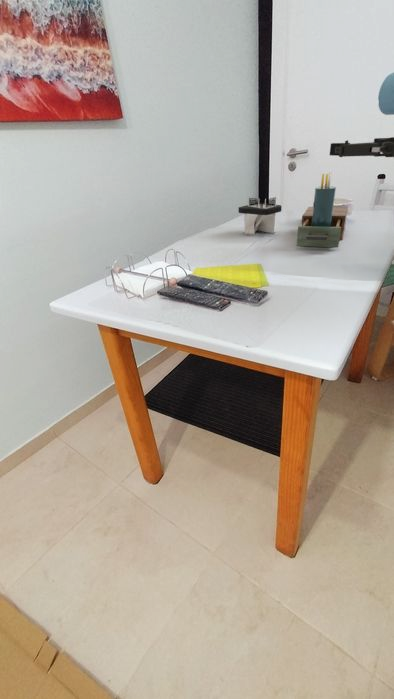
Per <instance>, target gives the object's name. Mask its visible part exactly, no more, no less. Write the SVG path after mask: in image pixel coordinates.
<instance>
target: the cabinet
mask: <svg viewBox="0 0 394 699" xmlns="http://www.w3.org/2000/svg"><path fill="white" fill-rule="evenodd" d="M347 211H348V207H333V213H332V219H341V222H340V227H341V232H340V239H339V241H343V238H344V234H345V229H346V223H347V217H348V216H347ZM312 215H313V206H308V207H307V209H306V210H305V212H304V213H303V214H302V216H301V225H300V226H302V225H303V224H304V222H305V221H306V219H307V218H312Z"/></svg>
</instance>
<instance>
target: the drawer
mask: <svg viewBox="0 0 394 699" xmlns="http://www.w3.org/2000/svg"><path fill="white" fill-rule="evenodd" d="M340 222H341V219H332V221H331V227H312V226H311V225H312V218H307V219H306V221H305V222H304V224H303V225H302V224H301V225H302V226H301V225H298V227H297V235H296V236H297V238H296V247H314V248H315V247H318V248H339V245H340V240H339V239H340V232H341V227H340Z"/></svg>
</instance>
